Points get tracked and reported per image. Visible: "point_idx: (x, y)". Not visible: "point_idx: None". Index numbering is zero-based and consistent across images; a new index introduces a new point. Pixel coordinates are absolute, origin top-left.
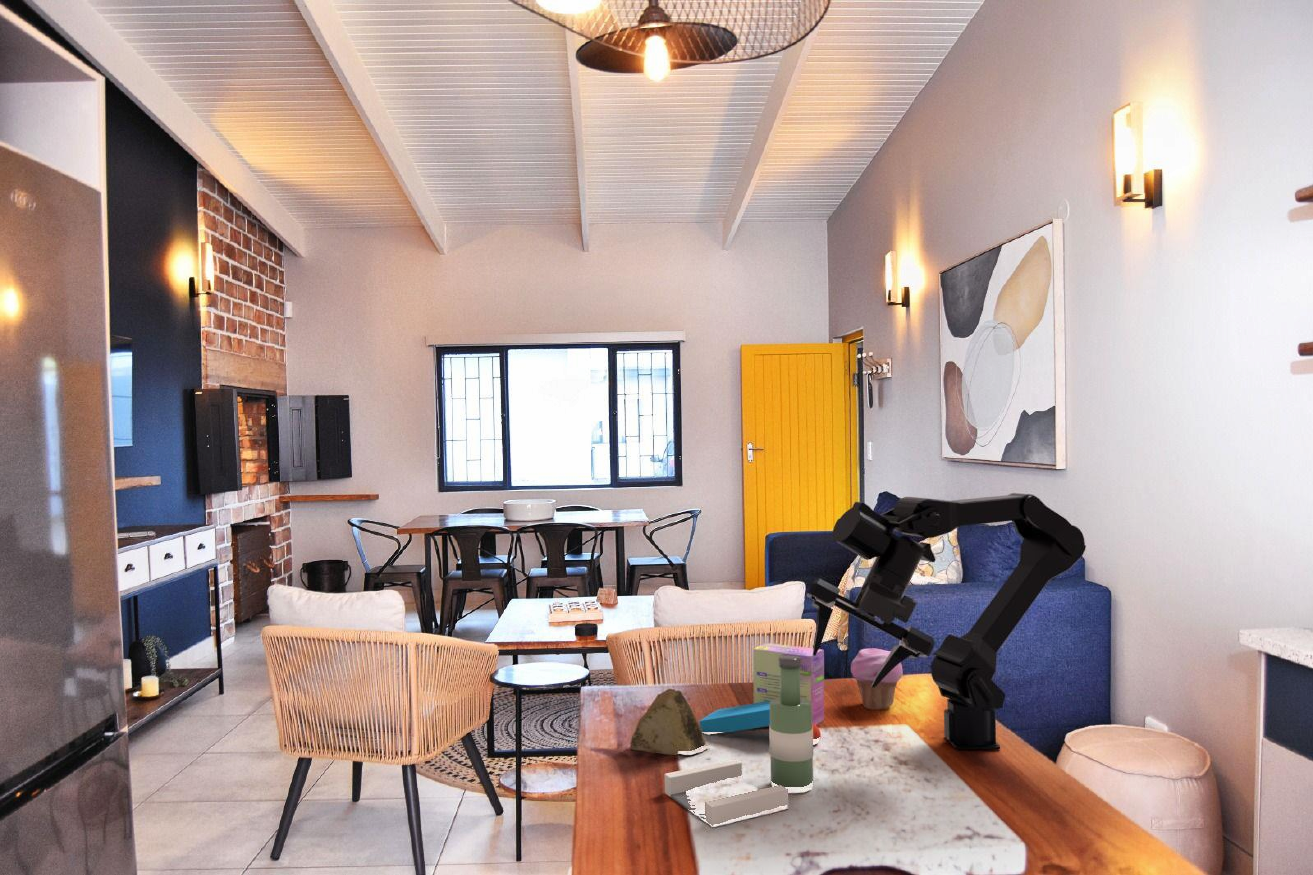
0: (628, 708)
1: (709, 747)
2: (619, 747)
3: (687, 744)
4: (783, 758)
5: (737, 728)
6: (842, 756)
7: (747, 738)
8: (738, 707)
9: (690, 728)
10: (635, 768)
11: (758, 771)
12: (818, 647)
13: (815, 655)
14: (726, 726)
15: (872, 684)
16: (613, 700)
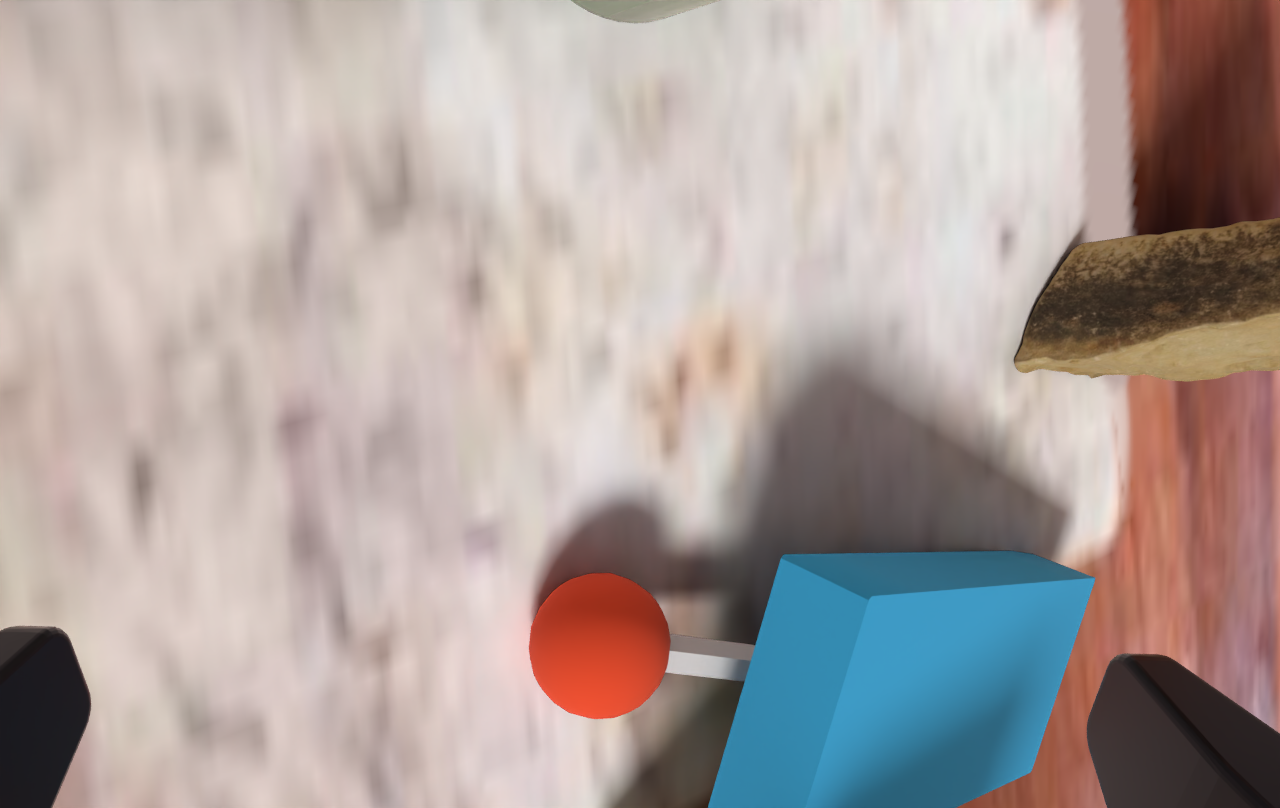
0: None
1: (1006, 394)
2: None
3: (1133, 238)
4: None
5: (950, 555)
6: (362, 472)
7: None
8: (984, 761)
9: (1190, 278)
10: (1228, 60)
11: (803, 102)
12: (1224, 748)
13: (1115, 659)
14: (993, 563)
15: (57, 689)
16: None
